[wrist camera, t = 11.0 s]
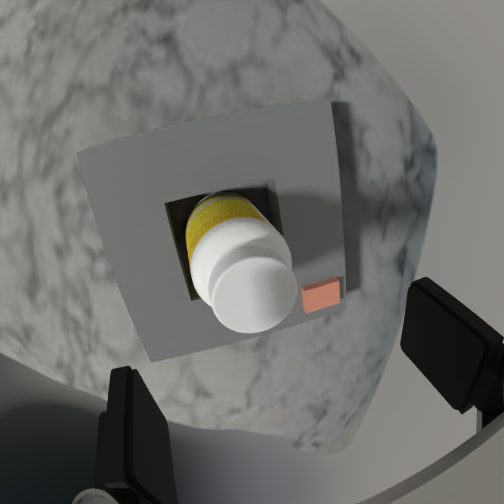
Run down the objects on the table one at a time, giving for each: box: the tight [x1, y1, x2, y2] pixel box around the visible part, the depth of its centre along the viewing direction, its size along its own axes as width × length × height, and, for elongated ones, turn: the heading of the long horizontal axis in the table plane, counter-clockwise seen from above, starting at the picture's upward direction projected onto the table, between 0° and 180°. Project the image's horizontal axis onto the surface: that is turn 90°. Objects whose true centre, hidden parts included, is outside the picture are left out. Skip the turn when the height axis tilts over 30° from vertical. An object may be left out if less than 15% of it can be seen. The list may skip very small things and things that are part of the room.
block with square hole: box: [77, 100, 346, 362], centre depth 22 cm, size 16×16×3 cm
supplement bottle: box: [185, 192, 298, 333], centre depth 19 cm, size 5×5×10 cm
